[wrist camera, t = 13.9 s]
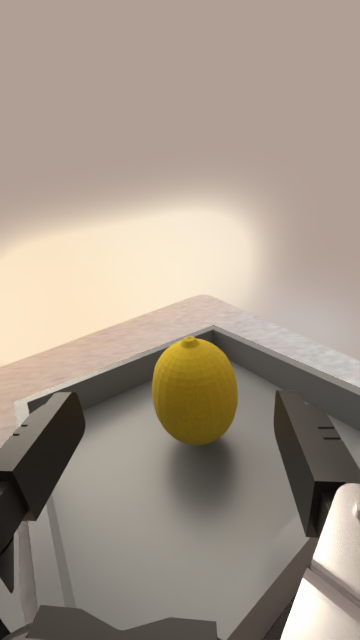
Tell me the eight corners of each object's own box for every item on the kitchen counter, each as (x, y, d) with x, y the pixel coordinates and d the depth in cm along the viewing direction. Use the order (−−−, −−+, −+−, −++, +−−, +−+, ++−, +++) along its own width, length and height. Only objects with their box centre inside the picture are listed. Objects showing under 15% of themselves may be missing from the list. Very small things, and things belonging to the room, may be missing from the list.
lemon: (251, 426, 19) (251, 327, 16) (213, 490, 15) (204, 374, 12) (189, 401, 22) (179, 315, 19) (144, 448, 18) (123, 348, 15)
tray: (29, 437, 21) (14, 401, 20) (214, 352, 31) (213, 325, 29) (98, 859, 7) (63, 839, 5) (399, 454, 17) (413, 411, 15)
